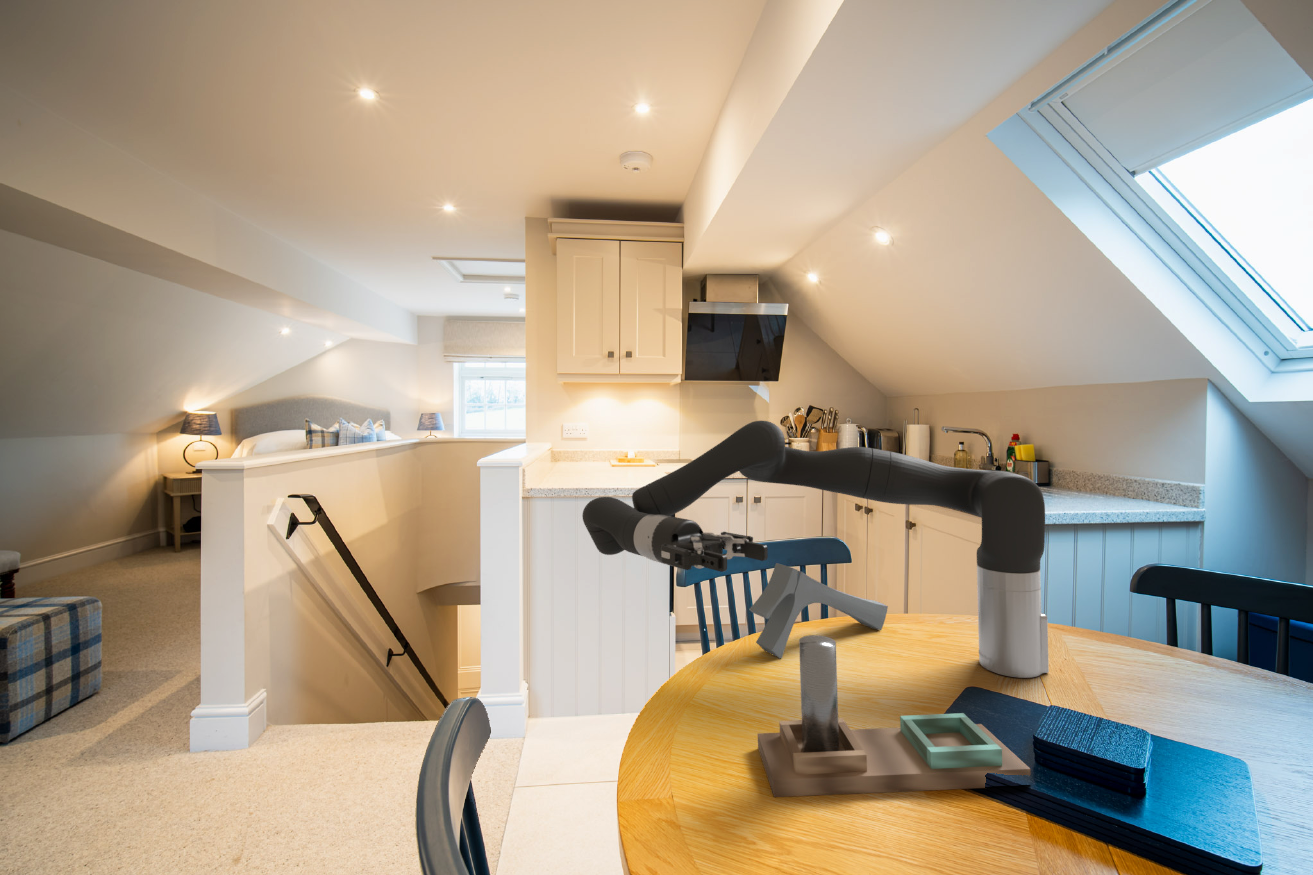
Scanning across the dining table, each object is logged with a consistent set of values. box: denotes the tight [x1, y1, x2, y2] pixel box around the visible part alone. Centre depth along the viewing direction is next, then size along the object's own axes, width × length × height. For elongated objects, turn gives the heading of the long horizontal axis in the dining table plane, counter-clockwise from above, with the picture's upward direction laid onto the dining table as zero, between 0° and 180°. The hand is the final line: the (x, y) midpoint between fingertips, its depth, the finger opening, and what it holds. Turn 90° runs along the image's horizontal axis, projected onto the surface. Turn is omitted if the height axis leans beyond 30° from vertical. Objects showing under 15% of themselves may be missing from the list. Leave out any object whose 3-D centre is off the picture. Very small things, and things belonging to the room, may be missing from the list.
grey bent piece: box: [748, 562, 889, 659], centre depth 112 cm, size 6×17×30 cm
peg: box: [798, 634, 839, 753], centre depth 72 cm, size 4×4×14 cm
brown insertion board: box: [757, 712, 1032, 798], centre depth 72 cm, size 30×10×4 cm, turn 90°
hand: (746, 558), depth 79 cm, fingers open, 8 cm apart
